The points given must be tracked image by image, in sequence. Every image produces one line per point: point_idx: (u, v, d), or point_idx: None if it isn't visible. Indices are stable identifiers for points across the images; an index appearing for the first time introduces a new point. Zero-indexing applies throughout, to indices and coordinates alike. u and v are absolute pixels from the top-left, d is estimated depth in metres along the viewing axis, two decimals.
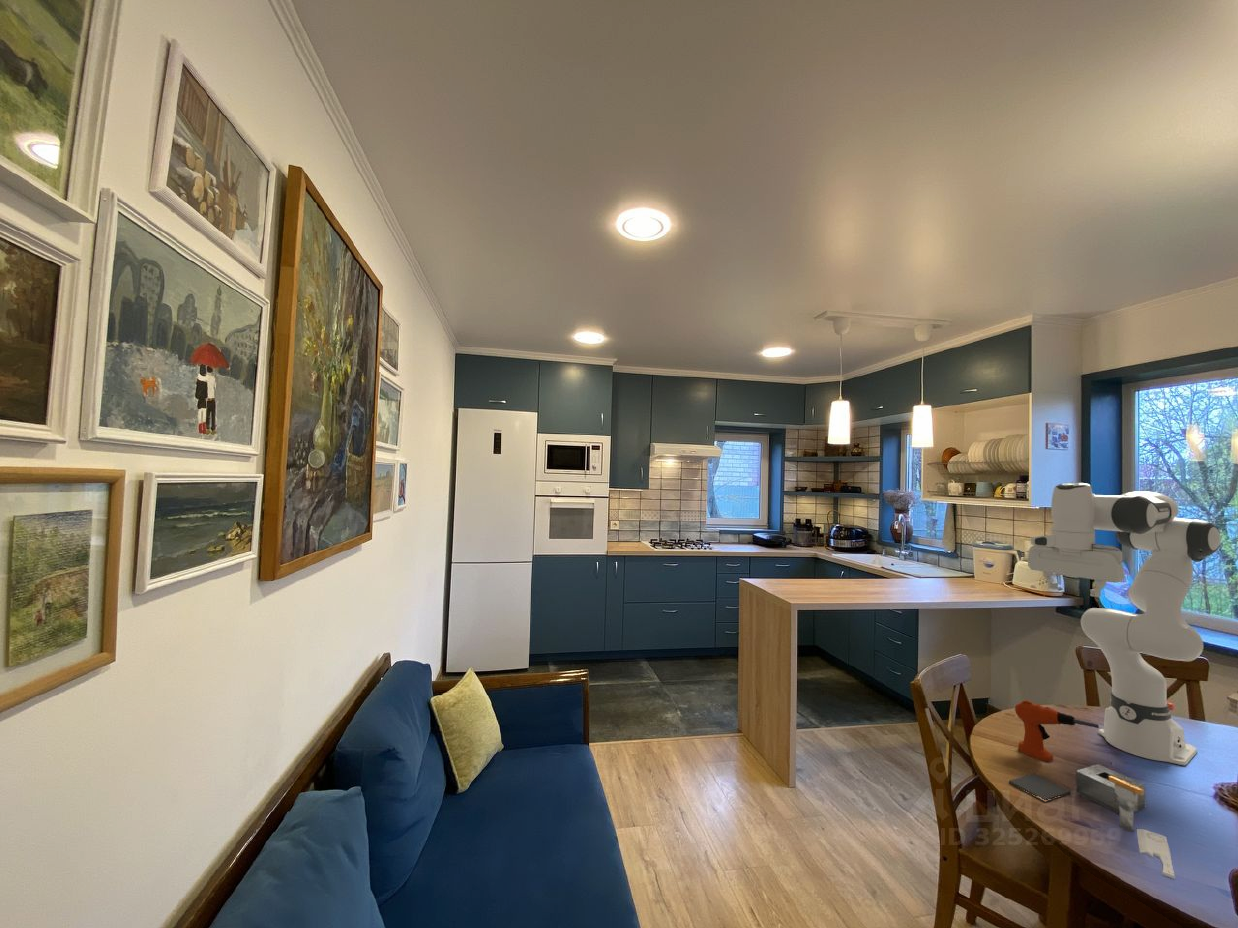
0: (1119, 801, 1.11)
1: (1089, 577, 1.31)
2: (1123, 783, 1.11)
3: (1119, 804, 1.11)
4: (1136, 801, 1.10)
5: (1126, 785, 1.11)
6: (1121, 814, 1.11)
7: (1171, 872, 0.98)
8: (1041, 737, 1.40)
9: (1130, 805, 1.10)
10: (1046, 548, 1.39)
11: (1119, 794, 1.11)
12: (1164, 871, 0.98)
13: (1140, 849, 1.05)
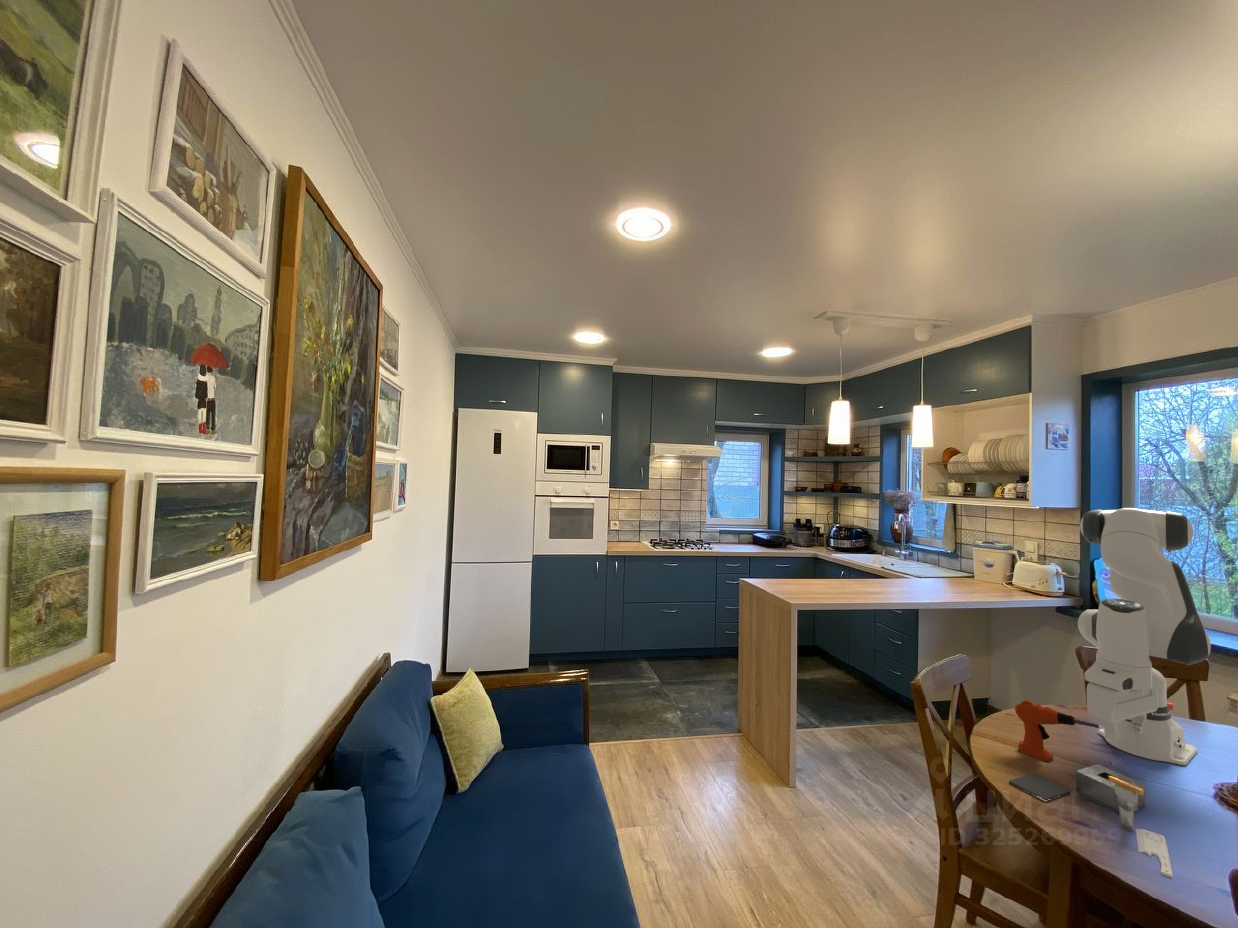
0: (1119, 801, 1.11)
1: (1145, 713, 1.12)
2: (1123, 783, 1.11)
3: (1119, 804, 1.11)
4: (1136, 801, 1.10)
5: (1126, 785, 1.11)
6: (1121, 814, 1.11)
7: (1169, 871, 0.98)
8: (1041, 737, 1.40)
9: (1130, 805, 1.10)
10: (1128, 691, 1.08)
11: (1119, 794, 1.11)
12: (1162, 870, 0.98)
13: None
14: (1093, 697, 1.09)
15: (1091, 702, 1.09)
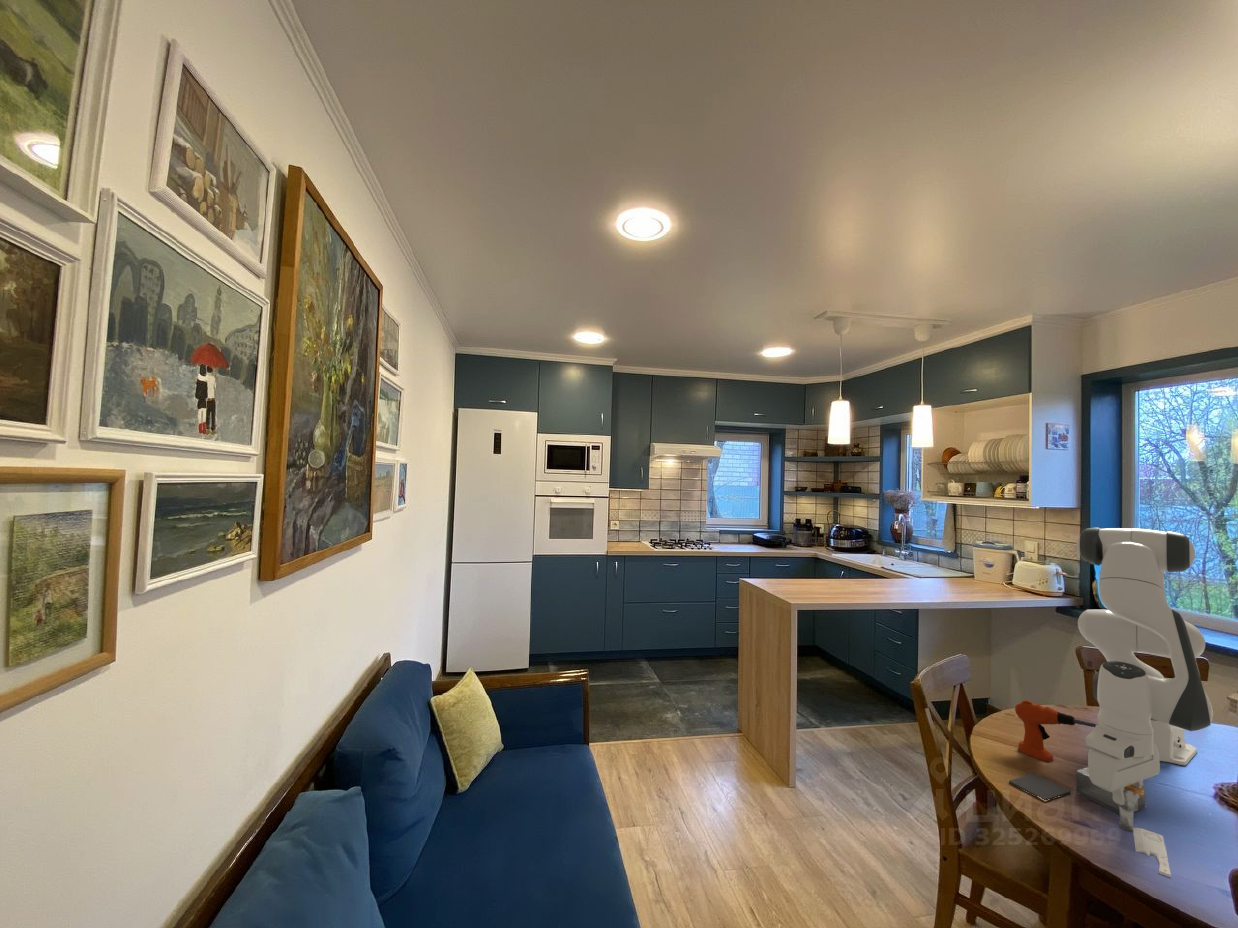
0: None
1: (1146, 778, 1.11)
2: None
3: (1119, 804, 1.11)
4: (1136, 801, 1.10)
5: None
6: (1121, 814, 1.11)
7: (1167, 871, 0.98)
8: (1041, 737, 1.40)
9: (1130, 805, 1.10)
10: (1129, 759, 1.07)
11: None
12: (1160, 870, 0.98)
13: (1137, 848, 1.05)
14: (1094, 764, 1.09)
15: (1093, 769, 1.09)
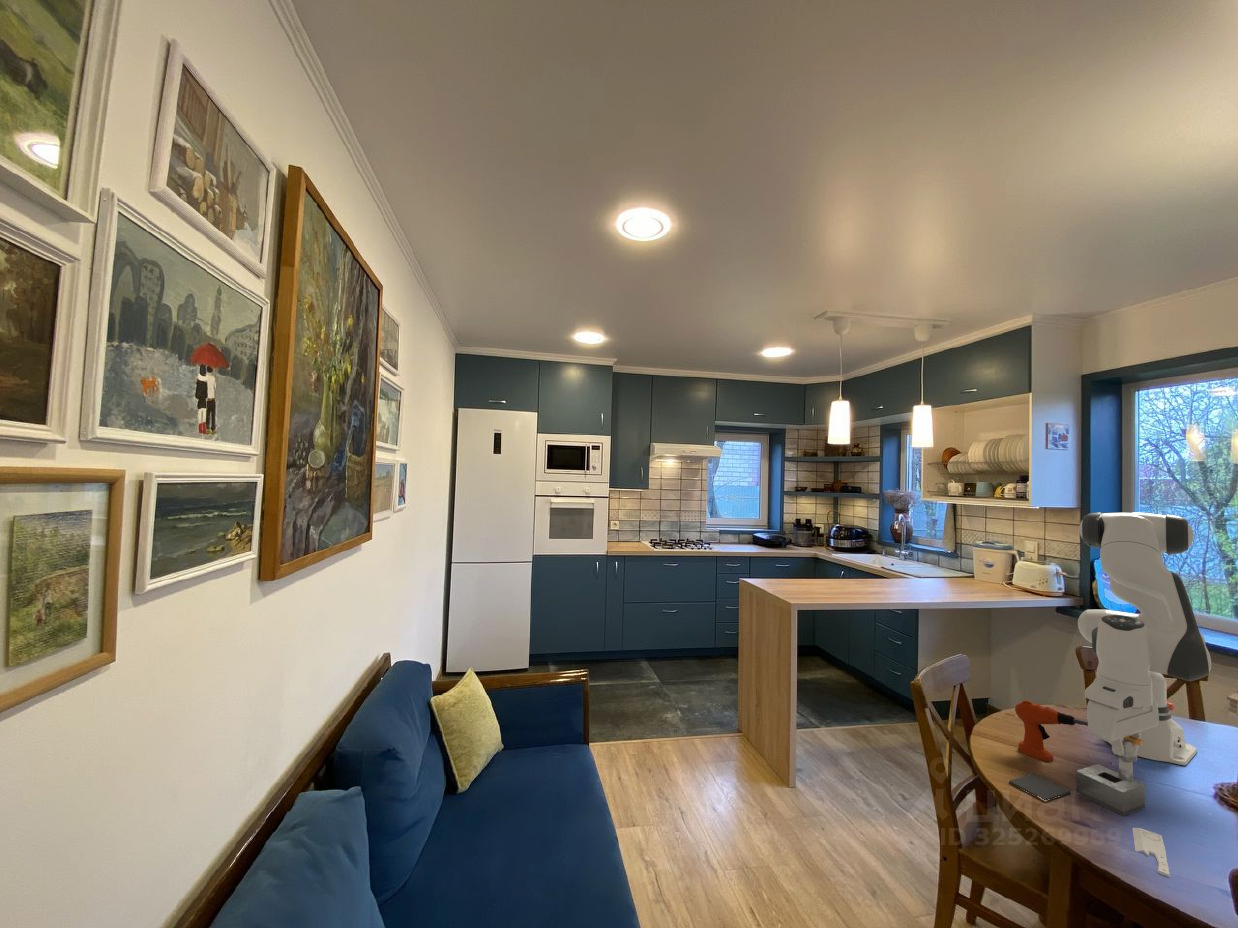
0: None
1: (1145, 729, 1.12)
2: None
3: (1118, 755, 1.12)
4: (1135, 752, 1.10)
5: None
6: (1120, 765, 1.12)
7: (1166, 870, 0.98)
8: (1041, 737, 1.40)
9: (1129, 756, 1.10)
10: (1128, 709, 1.08)
11: None
12: (1159, 869, 0.99)
13: (1136, 848, 1.05)
14: (1094, 715, 1.09)
15: (1092, 720, 1.09)
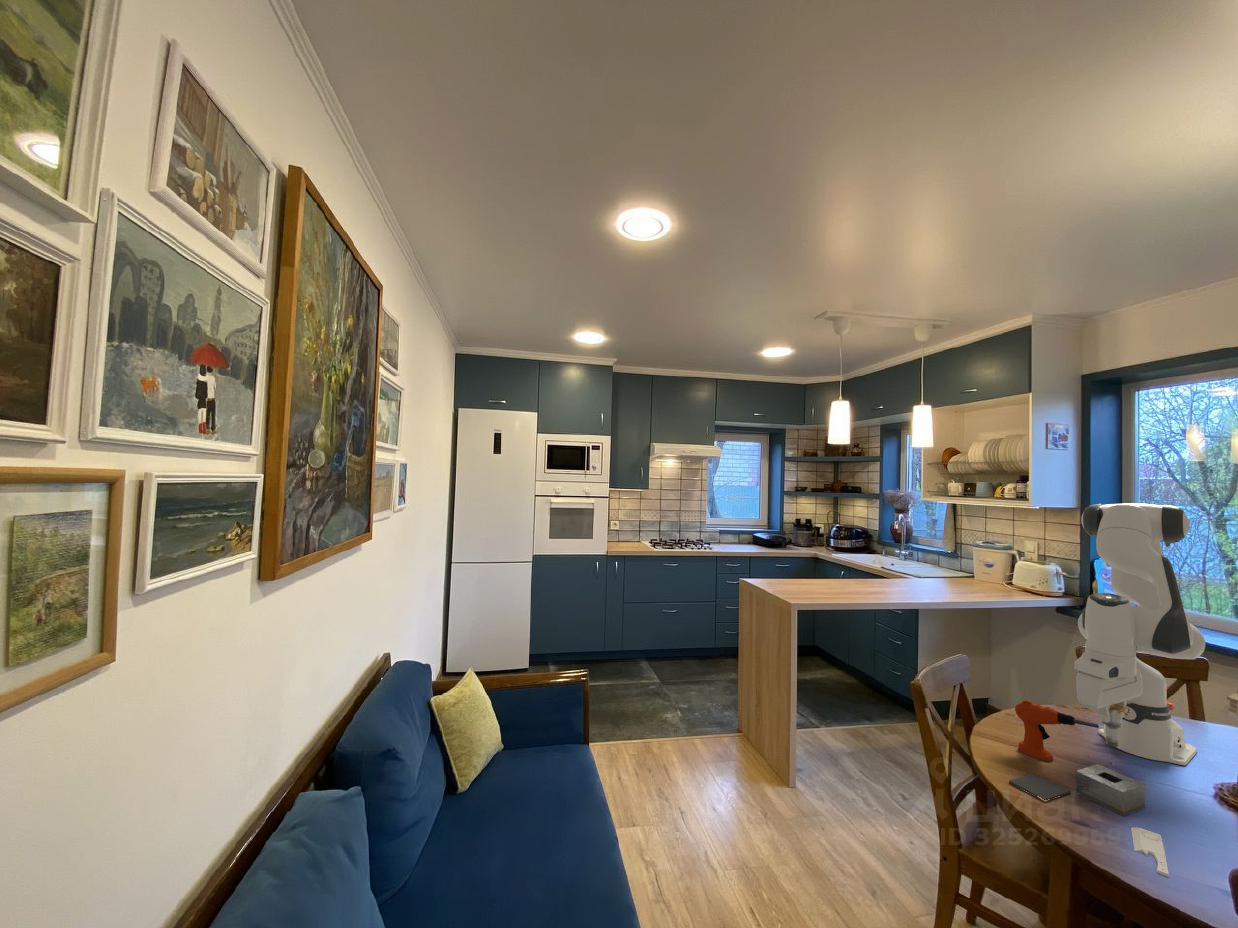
0: None
1: (1130, 698, 1.20)
2: None
3: (1105, 723, 1.20)
4: (1121, 719, 1.19)
5: (1111, 705, 1.20)
6: (1107, 732, 1.20)
7: (1165, 870, 0.98)
8: (1041, 737, 1.40)
9: (1115, 723, 1.19)
10: (1114, 679, 1.16)
11: None
12: (1158, 869, 0.99)
13: (1135, 847, 1.05)
14: (1082, 685, 1.18)
15: (1081, 690, 1.18)
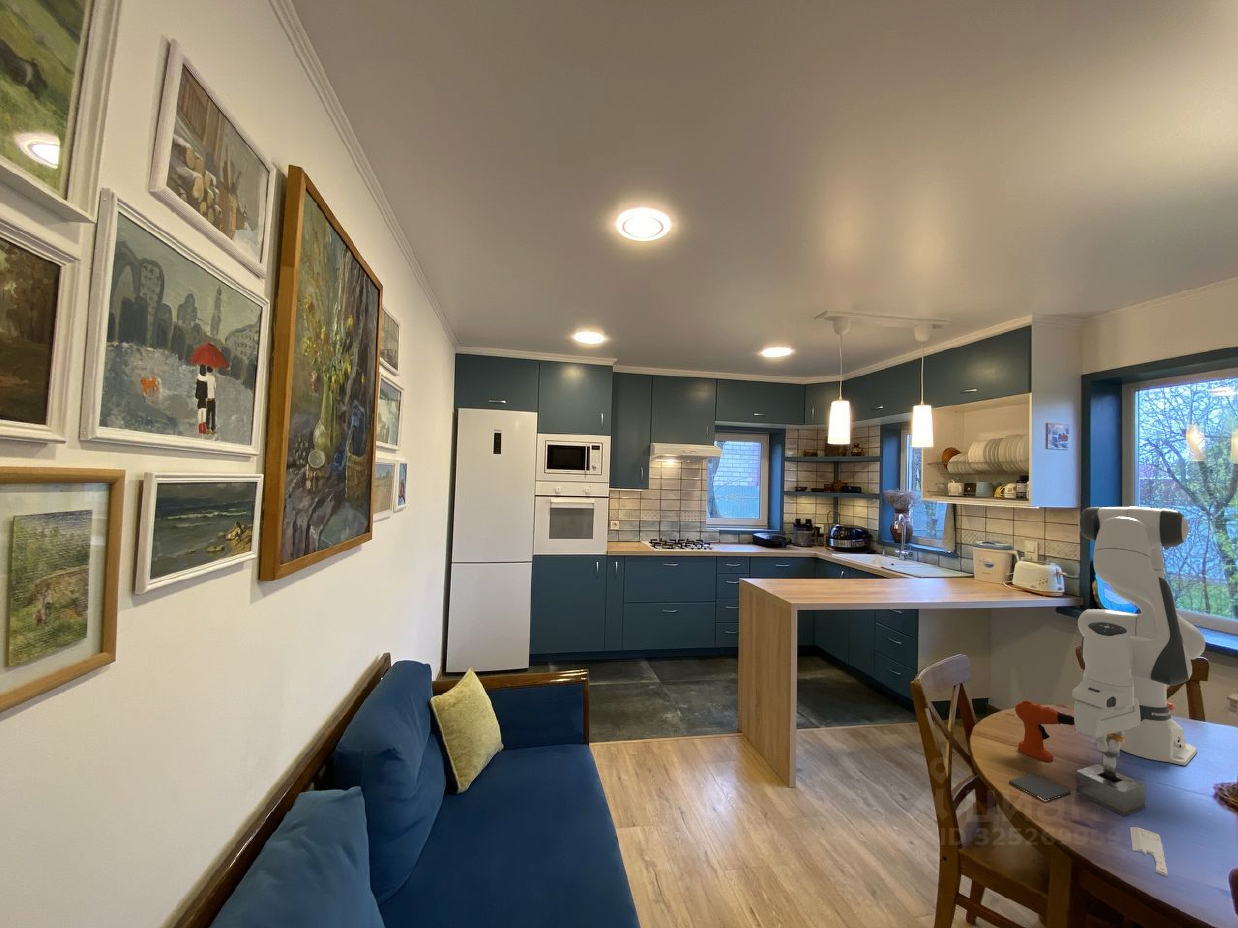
0: None
1: (1128, 728, 1.21)
2: None
3: (1103, 752, 1.21)
4: (1118, 748, 1.20)
5: (1109, 734, 1.21)
6: (1104, 761, 1.21)
7: (1164, 870, 0.99)
8: (1041, 737, 1.40)
9: (1112, 752, 1.19)
10: (1111, 708, 1.17)
11: None
12: (1157, 869, 0.99)
13: (1134, 847, 1.05)
14: (1080, 714, 1.19)
15: (1078, 718, 1.19)
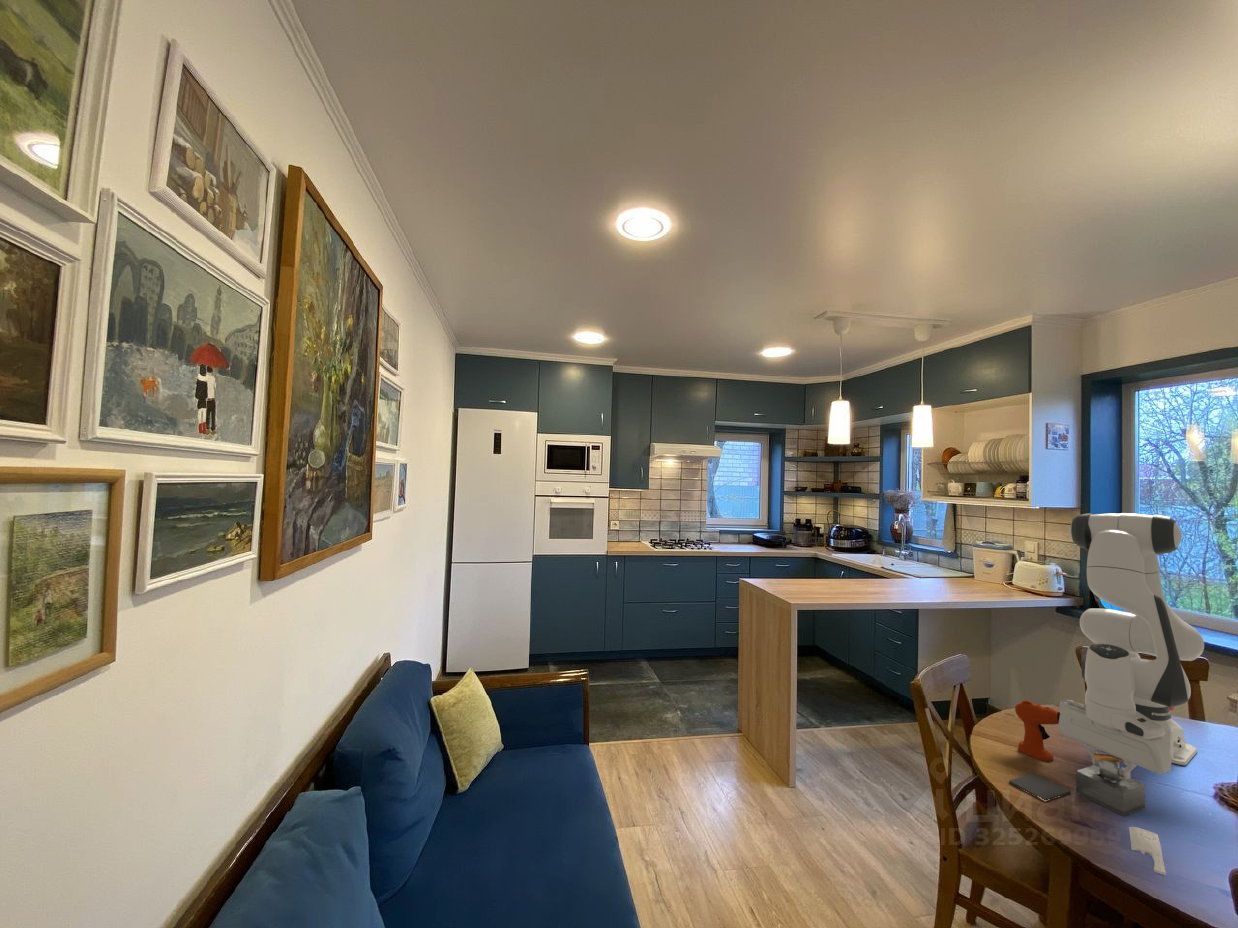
0: (1113, 776, 1.19)
1: None
2: (1108, 756, 1.20)
3: (1112, 778, 1.19)
4: None
5: (1111, 757, 1.20)
6: None
7: (1162, 869, 0.99)
8: (1041, 737, 1.40)
9: None
10: None
11: (1112, 769, 1.19)
12: (1155, 868, 0.99)
13: (1132, 846, 1.05)
14: (1162, 753, 1.12)
15: (1163, 759, 1.11)
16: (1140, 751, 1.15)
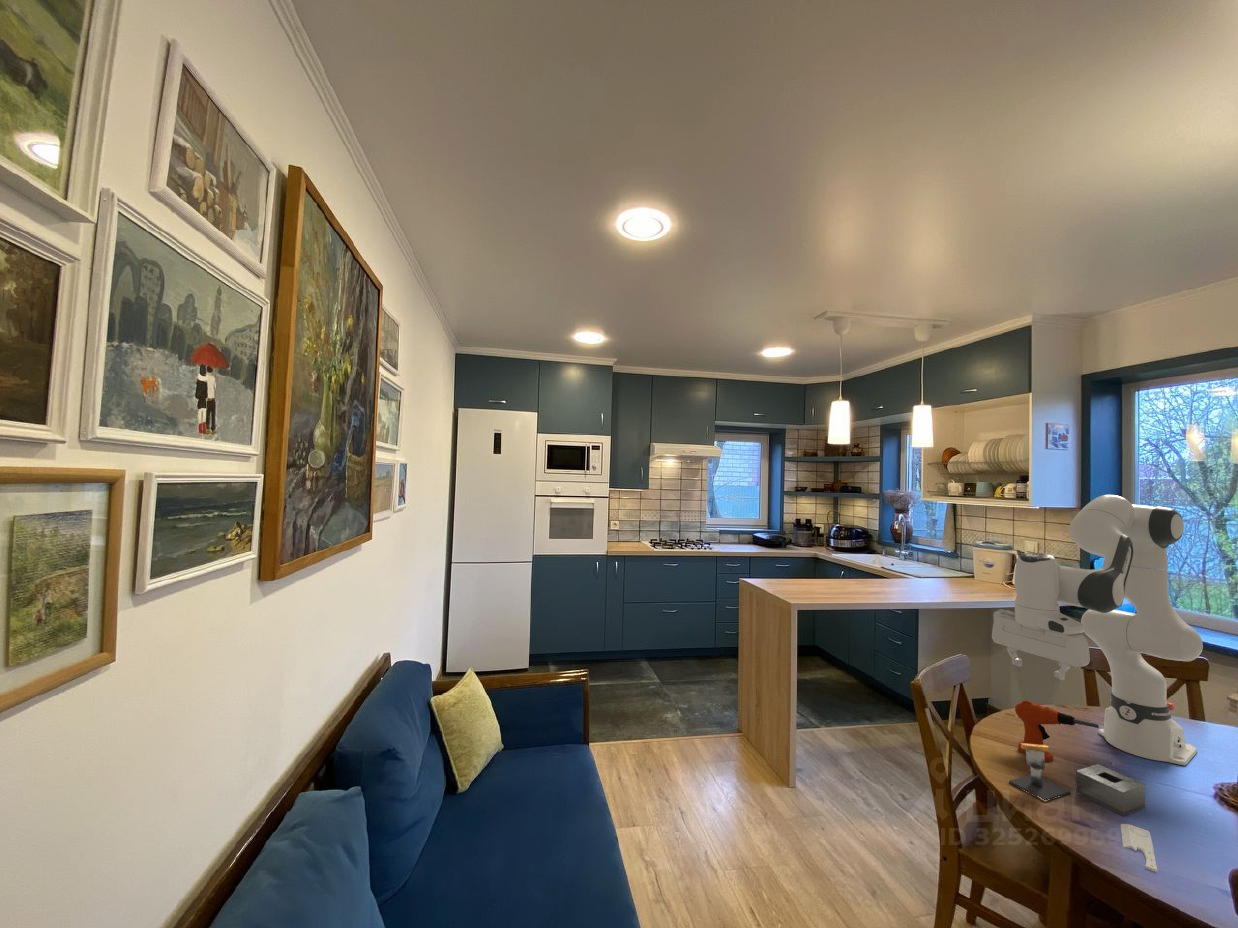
0: (1037, 764, 1.24)
1: None
2: (1034, 746, 1.25)
3: (1037, 767, 1.24)
4: None
5: (1037, 747, 1.25)
6: (1036, 775, 1.25)
7: (1154, 866, 0.99)
8: (1041, 737, 1.40)
9: (1044, 764, 1.24)
10: None
11: (1037, 758, 1.24)
12: (1147, 865, 1.00)
13: (1124, 843, 1.06)
14: (1081, 647, 1.17)
15: (1081, 653, 1.17)
16: (1061, 648, 1.20)
